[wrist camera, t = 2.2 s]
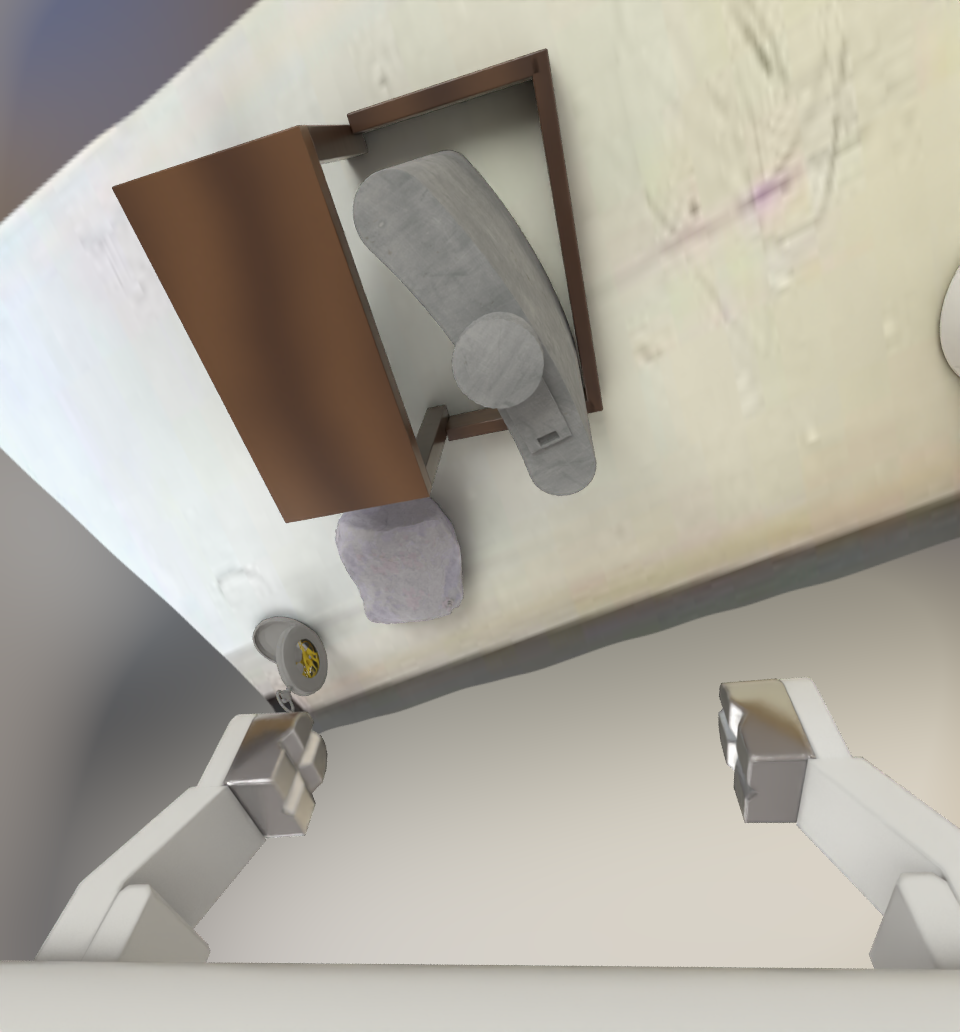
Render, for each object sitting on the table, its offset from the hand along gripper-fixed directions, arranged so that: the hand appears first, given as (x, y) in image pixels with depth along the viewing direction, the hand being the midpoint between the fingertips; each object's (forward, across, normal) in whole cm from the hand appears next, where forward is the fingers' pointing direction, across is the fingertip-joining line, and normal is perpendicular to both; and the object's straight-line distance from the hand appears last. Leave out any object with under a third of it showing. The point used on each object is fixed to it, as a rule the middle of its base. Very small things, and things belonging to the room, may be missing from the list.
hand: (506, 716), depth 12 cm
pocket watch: (+35, +28, +29) cm, 53 cm away
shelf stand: (+35, +8, -2) cm, 36 cm away
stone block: (+35, +13, +20) cm, 43 cm away
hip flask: (+35, +1, -2) cm, 35 cm away
